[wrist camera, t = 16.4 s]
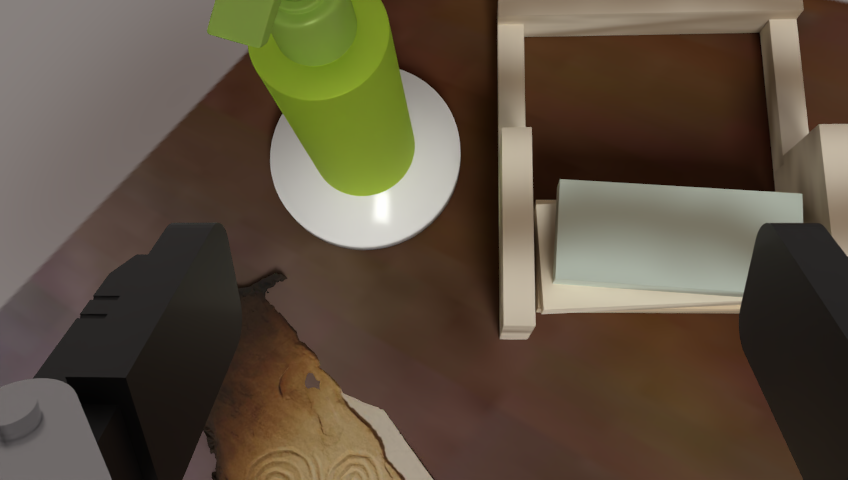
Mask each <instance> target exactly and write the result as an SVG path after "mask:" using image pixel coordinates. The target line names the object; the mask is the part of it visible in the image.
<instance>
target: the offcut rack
mask: <svg viewBox="0 0 848 480" xmlns="http://www.w3.org/2000/svg"><path fill="white" fill-rule="evenodd" d="M803 10H804V9H803V0H498V6H497V73H498V195H499V317H500V339H528V337H529V336H530V334H531V332H532V331H533V329H534V327H535V326H536V322H535V297H536V312H541V314H554V313H740V307H741V302H742V298H743V293H744V289H745V285H746V280H747V276H748V271H749V267H750V262H751V258H752V253H753V249H754V244H755V240H756V236H757V233H758V231H759V229H760V227H761V226H762V225H763V224H765V223H820V224H822V225H823V226H824V227H825V228H826V229H827V231H828V232H829V233H830V235H831V236H832V237H833V238H834V240H835V241H836V242H837V244H838V245H839V246H840V247H841V249H842V250H843V251H844V253H845V254H846V255H847V257H848V124H819V125H818V126H816V127H815V128H814V129H813V130H812V131H811V132H810V133H809V130H808V121H807V112H806V103H805V94H804V85H803V76H802V67H801V58H800V48H799V39H798V30H797V21H796V19H797V17H798V16H799V15H800V14H801V12H802V11H803ZM711 33H760V40H761V50H762V60H763V70H764V81H765V91H766V101H767V111H768V122H769V132H770V142H771V153H772V163H773V173H774V183H775V192H767V191H750V190H734V189H717V188H700V187H684V186H667V185H650V184H634V183H617V182H600V181H584V180H567V179H560V180H559V183H558V186H557V200H536V201H535V205H534V219H533V167H532V127H525V74H524V37H547V36H601V35H656V34H711ZM534 246H535V271H534Z"/></svg>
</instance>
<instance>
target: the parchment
mask: <svg viewBox="0 0 848 480" xmlns="http://www.w3.org/2000/svg"><path fill="white" fill-rule="evenodd" d="M285 279H286V277H285V276H283V275H282V274H277V273H275V274H273V275H271V276H270V275H269V276H268V277H267V278H263V279H261V280H260V281H259V282H257V283H255V284H253V285H251V286H250V287H246V288H238V292H239V297H240V302H241V309H242V328H241V335H240V340H239V344H238V347H237V349H236V351H235V354H234V356H233V359H232V361H231V363H230V366H229V368H228V371H227V373H226V376H225V378H224V380H223V383H222V385H221V388H220V390H219V392H218V395H217V397H216V400H215V402H214V404H213V407H212V409H211V412H210V414H209V417H208V419H207V421H206V424H205V426H204V429H203V430H204V432H205V434H206V436H207V442H208V446H209V447H210V453H211V454H212V453H215V458H216V460H217V462H216V468H215V469H216V472H212V479H213V480H433V478H432V477H431V476H430V475H429V473H428V472H427V471H426V469H425V468H424V466H423V465H422V463H421V462H420V461H419V460H418V458H417V456H416V455H415V454H414V452H413V451H412V450H411V448H410V447H409V446H408V444H407V442H406V441H405V440H404V438H403V437H402V435H401V434H400V433H399V431H398V430H397V428H396V427H395V425H394V424H393V422H392V421H391V420H390V419H389V417H388V415H387V414H386V413H385V411H384V410H380V409H379V407H374V406H372V405H369V404H366V403H363V402H361V401H359V400H357V399H355V398H353V397H350V396H348V395H345V394H343V393H342V390H341V387H340V386H339V385H338V384H337V382H336V381H335V380H334V379H333V378H332V377H331V376H330V375H328V374H327V373H326V372H325V371H324V370H322V369H321V368H319V367H320V363H319V360H318V358H317V356H316V354H315V353H314V352H313V351H312V350H310V349H309V348H308V347H307V345H306V344H305V343H303V342H301V341H299V339H298V336H297V332H296V331H295V330H294V329H293V327H291V326H290V325H289V323H288V322H287V321H286V319H285V318H284V317H283V316H282V315H281V314H280V313H278V312H277V311H276V310H275V308H274V306H273V305H270V303H269V302H268V301H267V300H266V299H265V292H266V291H267V289H268V288H271V287H273V286H274V285H275V283H276V282H279V281H284V280H285ZM267 293H269V292H268V291H267ZM308 373H313V374H314V376H315V378H316V380H318V381H320V390H319V389H317V388H309V389H308V388H306V387H305V379H306V376H307V374H308Z"/></svg>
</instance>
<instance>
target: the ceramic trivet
mask: <svg viewBox="0 0 848 480" xmlns="http://www.w3.org/2000/svg"><path fill="white" fill-rule="evenodd" d="M399 70H400V75H401V79H402V84H403V88H404V93H405V98H406V102H407V107H408V111H409V116H410V121H411V125H412V130H413V134H414V140H415V151H414V157H413V160H412V163H411V165H410V168H409V169H408V171H407V173H406V174H405V175H404V177H403V178H402V179H401V180H400V181H399V182H398V183H397V184H395V185H394V186H393V187H391V188H390V189H388V190H386V191H384V192H381V193H378V194H375V195H370V196H354V195H349V194H345V193H343V192H340V191H338V190H336V189H335V188H333V187H332V186H331V185H329V184H328V183H327V182H326V181H325V180H324V179H323V177H322V176H321V175H320V173H319V171H318V170H317V168H316V166H315V165H314V163H313V162H312V160H311V158H310V157H309V155H308V154H307V152H306V150H305V149H304V147H303V146H302V144H301V142H300V141H299V139H298V137H297V136H296V134H295V133H294V131H293V129H292V128H291V126H290V125H289V123H288V121H287V120H286V118H285V116H284V115H283V114H282V115H281V117H280V119H279V121H278V124H277V126H276V128H275V131H274V135H273V138H272V143H271V150H270V166H271V174H272V178H273V182H274V186H275V188H276V191H277V193H278V195H279V198H280V199H281V201H282V203H283V204H284V206H285V207H286V209H287V210H288V211H289V212H290V214H291V215H292V216H293V217H294V218H295V220H296V221H297V222H298V223H299V224H300V225H301V226H302V227H304V228H305V229H306V230H307V231H308V232H310V233H311V234H313V235H314V236H315V237H317V238H319V239H321V240H323V241H325V242H327V243H329V244H332V245H335V246H338V247H342V248H347V249H353V250H376V249H382V248H387V247H391V246H394V245H397V244H400V243H402V242H404V241H407V240H409V239H411V238H413V237H414V236H416V235H417V234H419V233H421V232H422V231H423V230H425V229H426V228H427V227H428V226H429V225H431V224H432V223H433V222H434V221H435V220H436V219H437V217H438V216H439V215H440V214H441V213H442V211H443V210H444V209H445V207H446V206H447V204H448V202H449V201H450V199H451V197H452V195H453V193H454V190H455V187H456V185H457V182H458V177H459V173H460V163H461V153H460V139H459V134H458V129H457V126H456V123H455V120H454V117H453V115H452V113H451V112H450V110H449V108H448V106H447V105H446V103H445V102H444V100H443V99H442V98H441V96H440V95H439V94H438V93H437V92H436V91H435V90H434V89H433V88H432V87H431V86H429V85H428V84H427V83H426V82H424V81H423V80H421V79H420V78H418V77H416V76H415V75H413V74H410V73H408V72H406V71H404V70H401V69H399Z"/></svg>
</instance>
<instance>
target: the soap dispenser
mask: <svg viewBox="0 0 848 480" xmlns="http://www.w3.org/2000/svg"><path fill="white" fill-rule="evenodd" d="M207 32H208V34H210V35H213V36H217V37H220V38H223V39H227V40H230V41H234V42H237V43H241V44H245V45H248V50H249V55H250V58H251V61H252V63H253V66H254V68H255V69H256V71H257V73H258V74H259V76H260V78H261V79H262V81H263V83H264V84H265V86H266V87H267V89H268V91H269V92H270V94H271V95H272V97H273V99H274V100H275V102H276V104H277V105H278V107H279V108H280V110H281V112H282V113H283V115H284V116H285V118H286V120H287V121H288V123H289V125H290V126H291V128H292V129H293V131H294V133H295V134H296V136H297V137H298V139H299V141H300V142H301V144H302V146H303V147H304V149H305V150H306V152H307V154H308V155H309V157H310V158H311V160H312V162H313V163H314V165H315V166H316V168H317V170H318V171H319V173H320V175H321V176H322V177H323V179H324V180H325V181H326V182H327V183H328V184H329V185H331V186H332V187H333V188H335V189H336V190H338V191H340V192H343V193H345V194H349V195H354V196H370V195H375V194H378V193H381V192H384V191H386V190H388V189H390V188H391V187H393V186H394V185H395V184H397V183H398V182H399V181H400V180H401V179H402V178H403V177H404V175H405V174H406V173H407V171H408V169H409V168H410V165H411V163H412V160H413V157H414V151H415V140H414V134H413V130H412V125H411V121H410V116H409V111H408V107H407V102H406V98H405V93H404V88H403V84H402V79H401V75H400V70H399V65H398V61H397V56H396V52H395V47H394V42H393V38H392V33H391V29H390V24H389V19H388V15H387V12H386V10H385V7H384V5H383V3H382V1H381V0H215V4H214V7H213V11H212V14H211V18H210V22H209V25H208V30H207Z"/></svg>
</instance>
